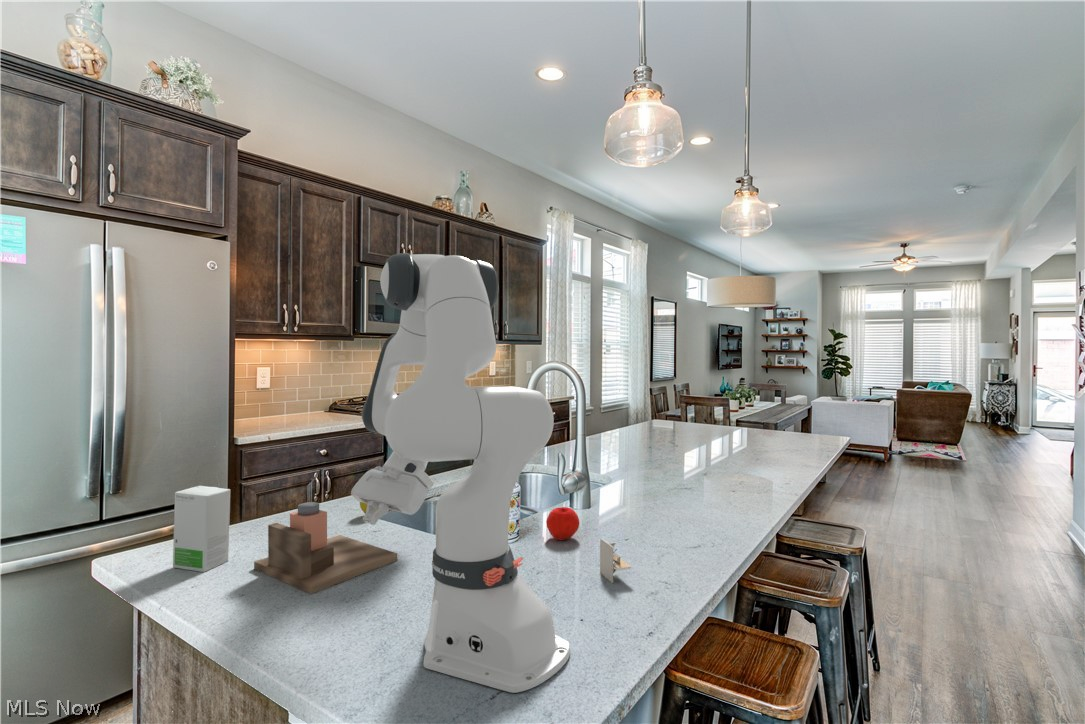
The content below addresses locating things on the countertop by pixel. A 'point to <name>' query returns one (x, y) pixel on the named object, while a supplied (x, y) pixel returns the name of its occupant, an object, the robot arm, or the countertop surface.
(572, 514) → the apple
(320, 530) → the pink square bottle
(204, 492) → the skincare box
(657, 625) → the countertop surface
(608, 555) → the architectural model
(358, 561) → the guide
